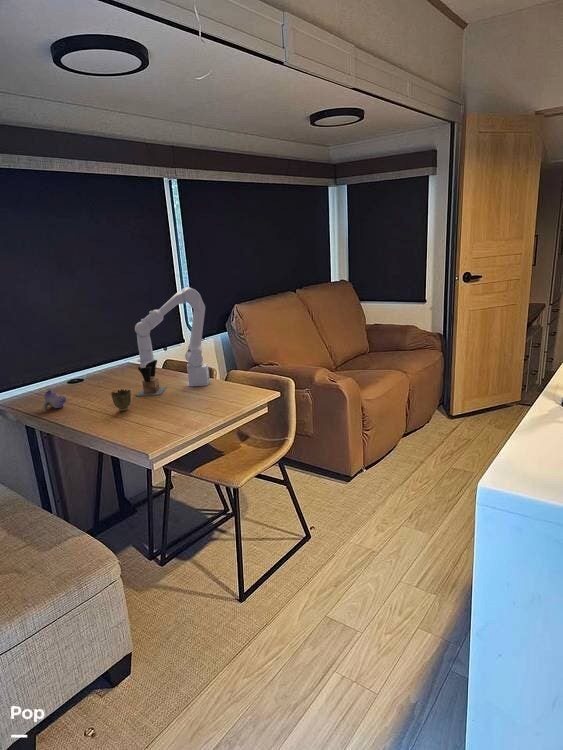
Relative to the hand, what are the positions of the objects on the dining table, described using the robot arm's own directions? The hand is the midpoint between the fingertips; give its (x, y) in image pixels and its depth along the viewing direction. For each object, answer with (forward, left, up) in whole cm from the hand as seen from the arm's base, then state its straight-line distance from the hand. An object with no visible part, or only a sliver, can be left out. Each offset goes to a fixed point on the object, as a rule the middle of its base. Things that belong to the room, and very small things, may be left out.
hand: (150, 379), depth 213 cm
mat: (0, 0, -6) cm, 6 cm away
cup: (+5, +23, -6) cm, 24 cm away
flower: (+37, +16, -6) cm, 41 cm away
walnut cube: (0, 0, -6) cm, 6 cm away
